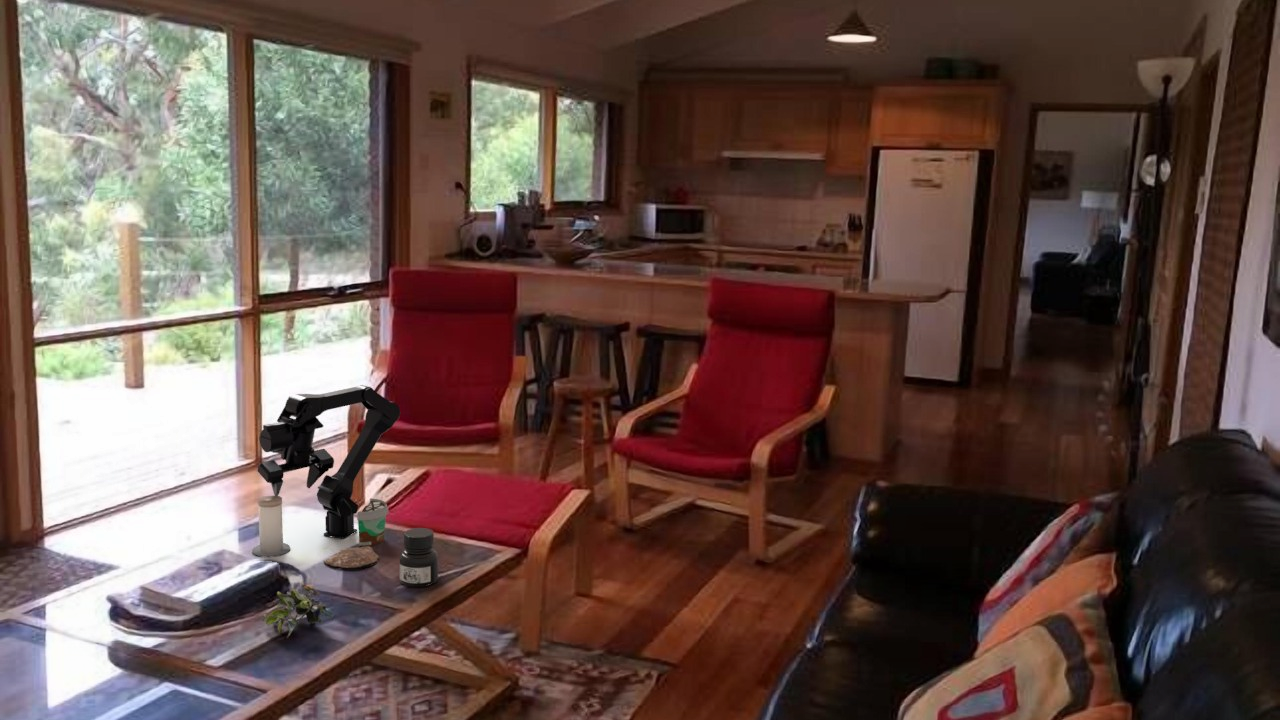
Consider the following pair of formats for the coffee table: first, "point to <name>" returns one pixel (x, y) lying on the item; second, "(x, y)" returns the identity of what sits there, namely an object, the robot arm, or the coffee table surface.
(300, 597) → the green leafy plant
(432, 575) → the ink bottle
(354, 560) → the shell
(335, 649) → the coffee table surface
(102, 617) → the coffee table surface
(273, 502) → the tumbler
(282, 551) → the coaster
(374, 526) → the food container
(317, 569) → the coffee table surface
